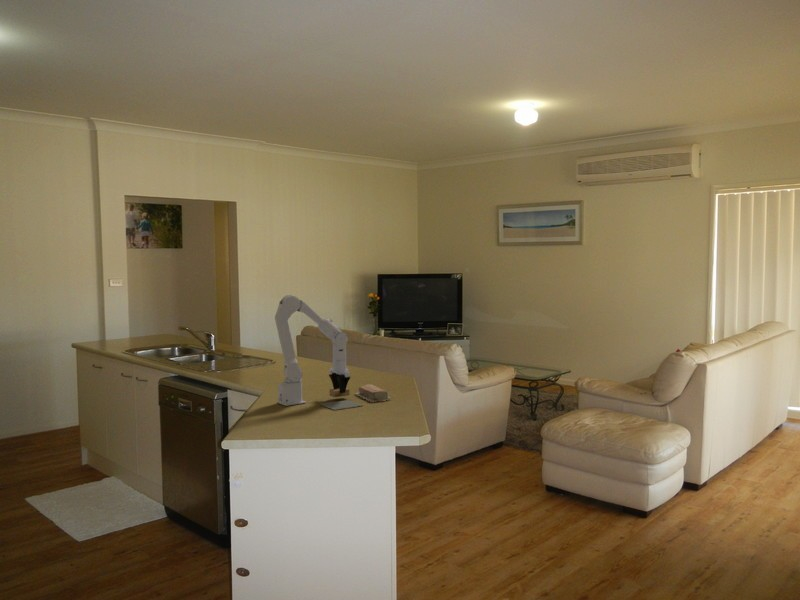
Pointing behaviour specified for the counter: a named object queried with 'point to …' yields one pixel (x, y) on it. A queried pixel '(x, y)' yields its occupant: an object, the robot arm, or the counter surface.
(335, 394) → the walnut block
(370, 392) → the packaged product
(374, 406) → the counter surface
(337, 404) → the slate mat
